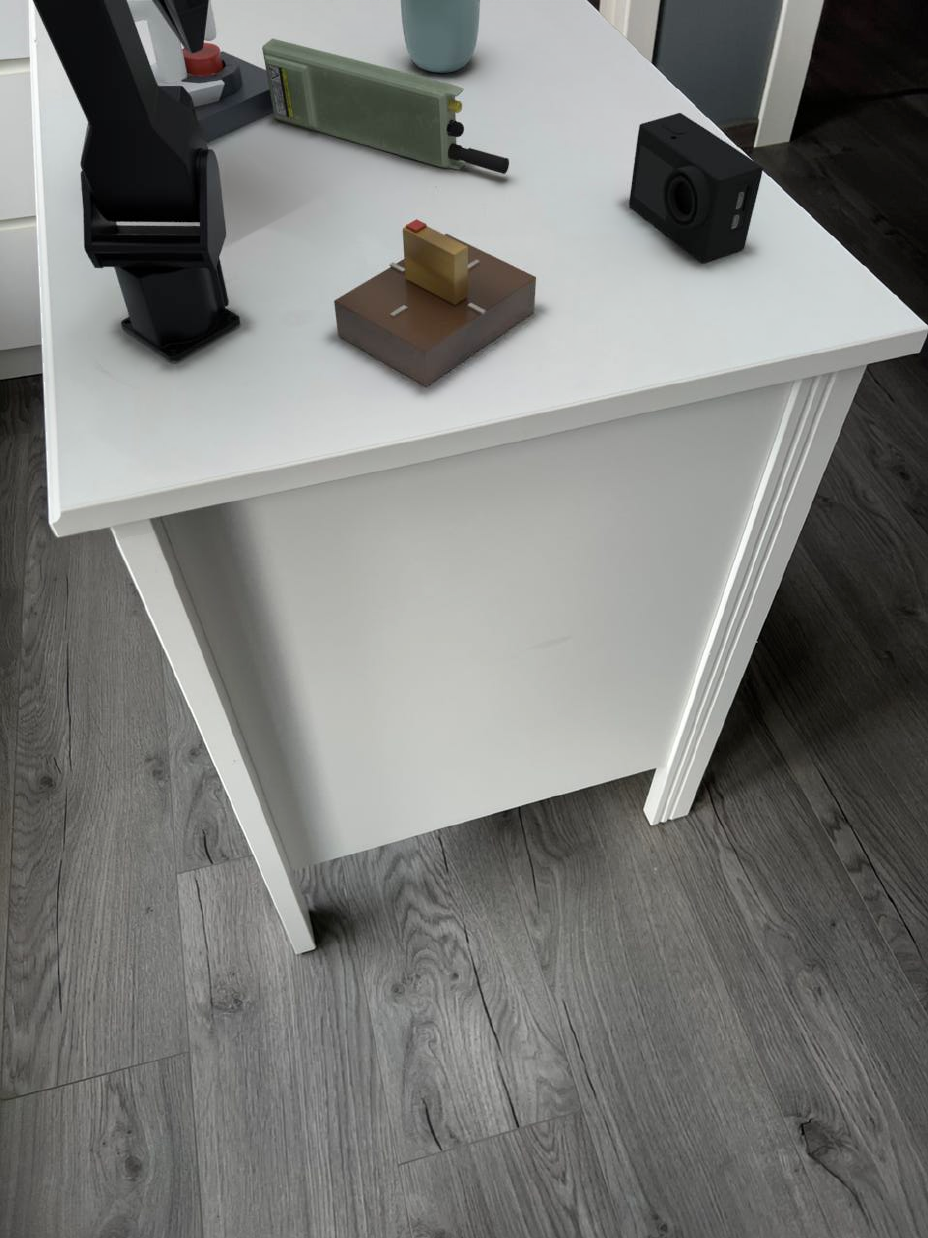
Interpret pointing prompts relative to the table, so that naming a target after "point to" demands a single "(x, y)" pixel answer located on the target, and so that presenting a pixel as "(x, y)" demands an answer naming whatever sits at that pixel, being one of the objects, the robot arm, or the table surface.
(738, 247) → the digital camera
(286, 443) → the table surface
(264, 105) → the box
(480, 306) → the plate
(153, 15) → the white bracket
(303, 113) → the handheld radio
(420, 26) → the cup
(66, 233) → the table surface
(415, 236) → the gold box
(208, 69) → the release button
